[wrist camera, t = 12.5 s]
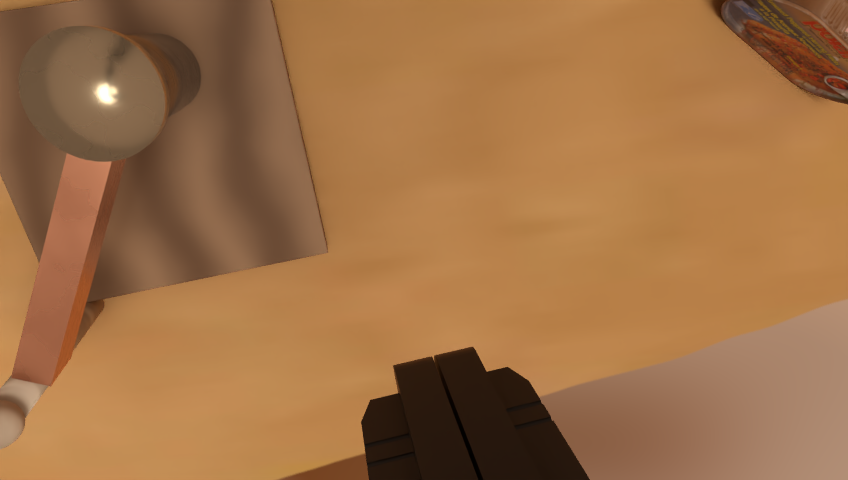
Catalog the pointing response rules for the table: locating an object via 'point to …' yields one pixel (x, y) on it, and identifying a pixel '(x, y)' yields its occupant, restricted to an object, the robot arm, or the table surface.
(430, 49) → the table surface
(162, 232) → the base
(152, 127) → the capstan
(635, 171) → the table surface
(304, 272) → the table surface
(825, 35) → the tin
